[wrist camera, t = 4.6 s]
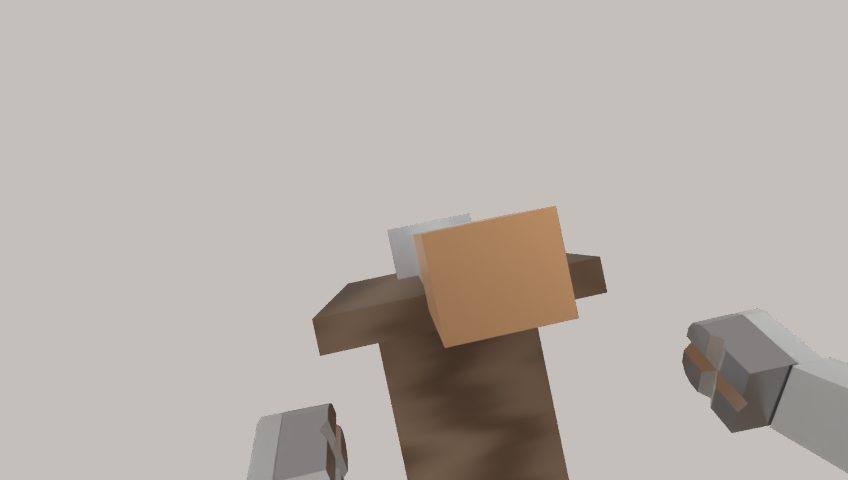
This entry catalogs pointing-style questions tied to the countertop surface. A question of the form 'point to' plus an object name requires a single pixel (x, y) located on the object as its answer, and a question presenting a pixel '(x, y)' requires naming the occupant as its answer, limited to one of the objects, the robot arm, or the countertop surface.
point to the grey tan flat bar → (488, 273)
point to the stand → (457, 382)
